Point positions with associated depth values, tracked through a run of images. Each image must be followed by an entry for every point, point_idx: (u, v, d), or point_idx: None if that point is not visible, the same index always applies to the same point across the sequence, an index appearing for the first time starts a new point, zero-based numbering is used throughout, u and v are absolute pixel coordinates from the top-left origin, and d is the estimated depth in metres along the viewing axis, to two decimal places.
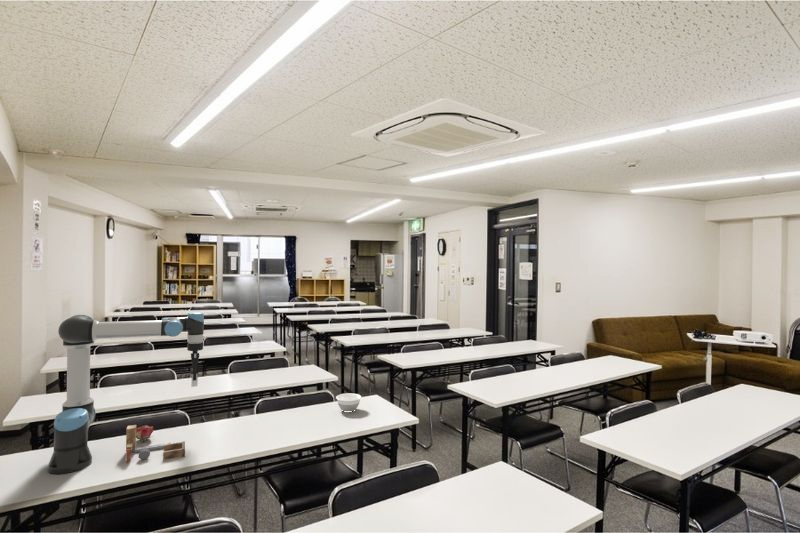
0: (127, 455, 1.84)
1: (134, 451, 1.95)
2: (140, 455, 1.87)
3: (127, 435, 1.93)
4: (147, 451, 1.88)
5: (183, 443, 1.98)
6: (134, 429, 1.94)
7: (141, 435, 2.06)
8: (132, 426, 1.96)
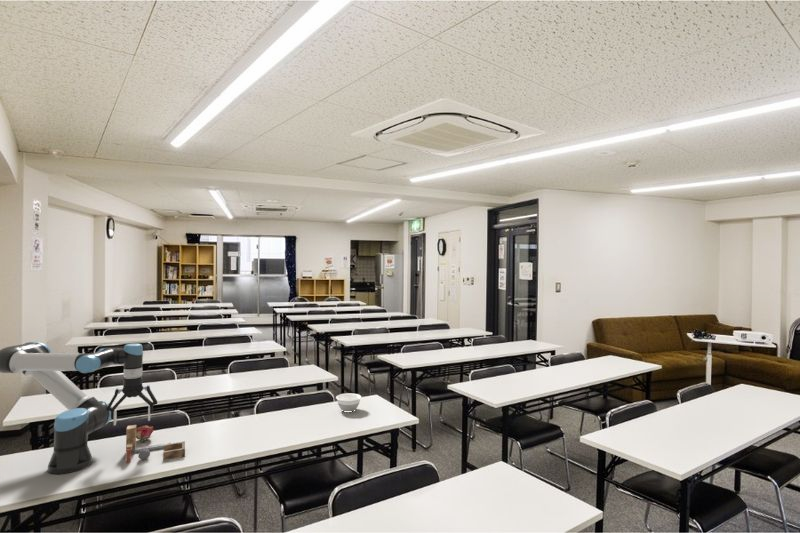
0: (127, 455, 1.84)
1: (134, 451, 1.95)
2: (140, 455, 1.87)
3: (127, 435, 1.93)
4: (147, 451, 1.88)
5: (183, 443, 1.98)
6: (134, 429, 1.94)
7: (141, 435, 2.06)
8: (132, 426, 1.96)
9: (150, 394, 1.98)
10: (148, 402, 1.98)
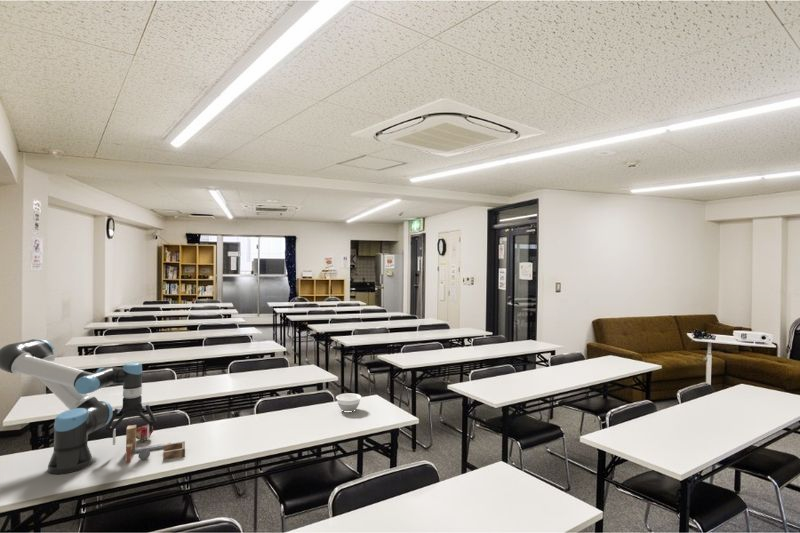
0: (127, 455, 1.84)
1: (134, 451, 1.95)
2: (140, 455, 1.87)
3: (127, 435, 1.93)
4: (147, 451, 1.88)
5: (183, 443, 1.98)
6: (134, 429, 1.94)
7: (141, 435, 2.06)
8: (132, 426, 1.96)
9: (149, 413, 1.98)
10: (147, 421, 1.97)
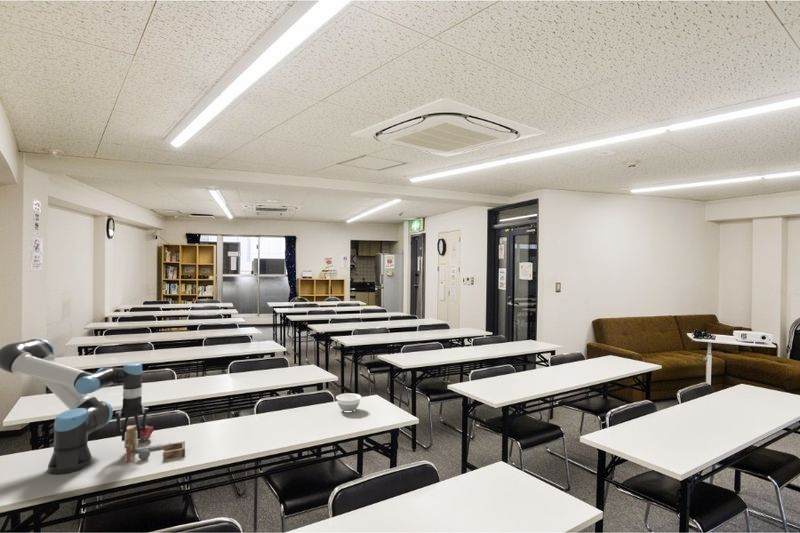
0: (127, 455, 1.84)
1: (134, 451, 1.95)
2: (140, 455, 1.87)
3: (127, 435, 1.93)
4: (147, 451, 1.88)
5: (183, 443, 1.98)
6: (134, 429, 1.94)
7: (141, 435, 2.06)
8: (132, 426, 1.96)
9: (144, 418, 1.97)
10: (138, 427, 1.96)
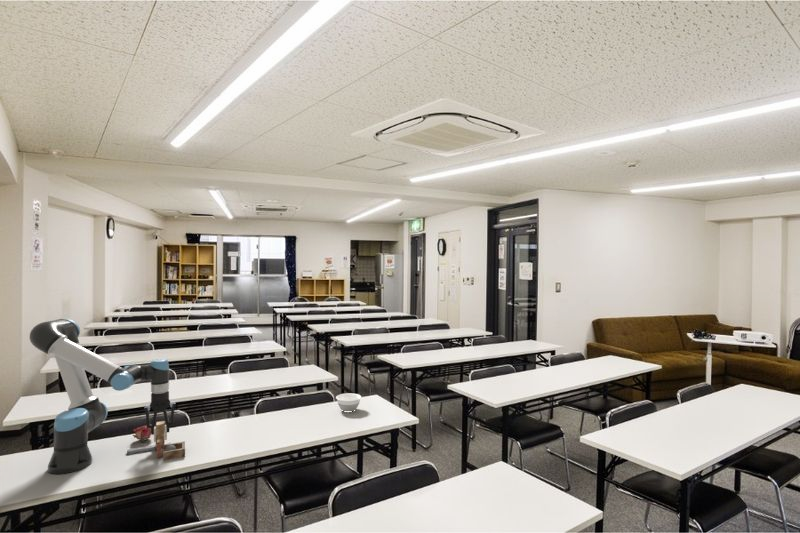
0: (158, 450, 1.90)
1: (134, 451, 1.95)
2: None
3: (157, 430, 1.98)
4: None
5: (183, 443, 1.98)
6: (163, 425, 2.00)
7: (141, 435, 2.06)
8: (161, 422, 2.01)
9: (172, 412, 2.02)
10: (166, 421, 2.01)
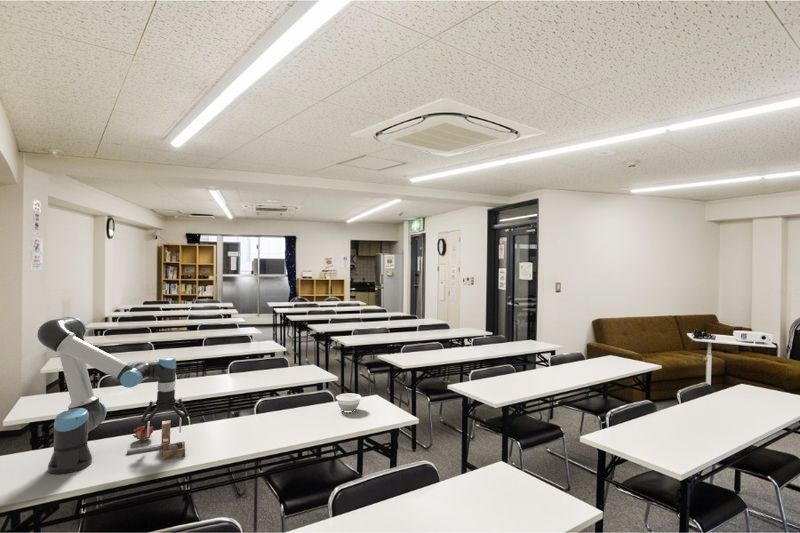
0: (164, 449, 1.91)
1: (134, 451, 1.95)
2: None
3: (162, 430, 1.99)
4: (168, 449, 1.92)
5: (183, 443, 1.98)
6: (169, 424, 2.01)
7: (141, 435, 2.06)
8: (167, 421, 2.03)
9: (182, 407, 2.04)
10: (180, 414, 2.04)
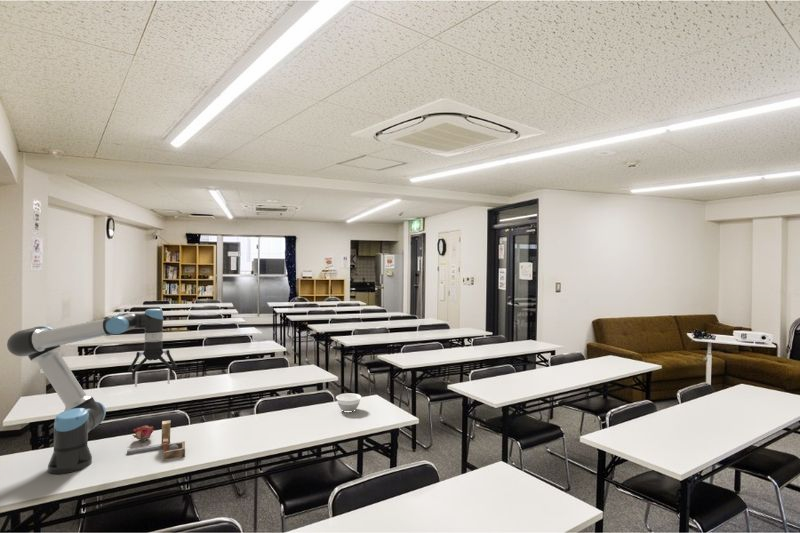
0: (164, 449, 1.91)
1: (134, 451, 1.95)
2: None
3: (162, 430, 1.99)
4: (169, 448, 1.93)
5: (183, 443, 1.98)
6: (169, 424, 2.01)
7: (141, 435, 2.06)
8: (167, 421, 2.03)
9: (170, 358, 2.04)
10: (168, 366, 2.03)
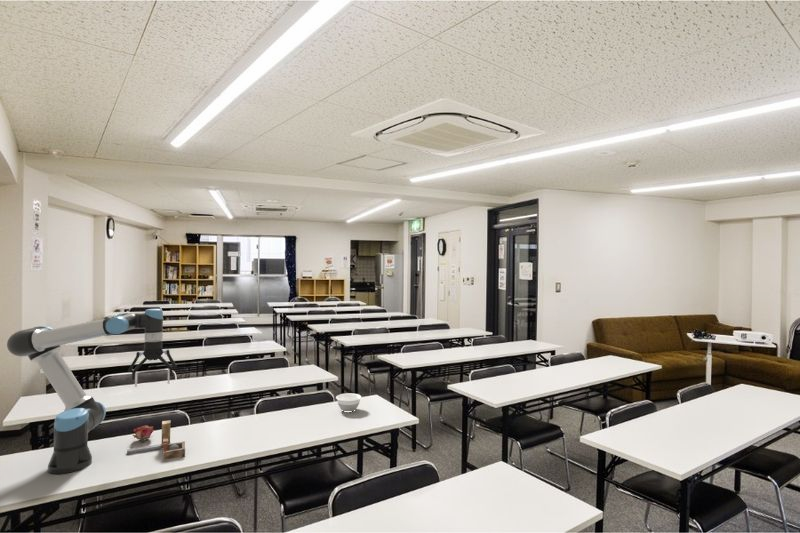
0: (164, 449, 1.91)
1: (134, 451, 1.95)
2: None
3: (162, 430, 1.99)
4: (170, 448, 1.93)
5: (183, 443, 1.98)
6: (169, 424, 2.01)
7: (141, 435, 2.06)
8: (167, 421, 2.03)
9: (170, 358, 2.04)
10: (168, 365, 2.03)
